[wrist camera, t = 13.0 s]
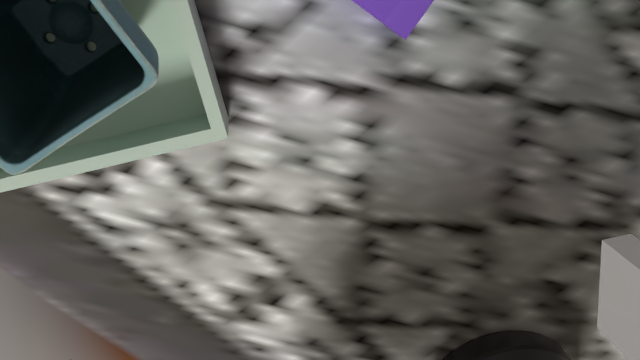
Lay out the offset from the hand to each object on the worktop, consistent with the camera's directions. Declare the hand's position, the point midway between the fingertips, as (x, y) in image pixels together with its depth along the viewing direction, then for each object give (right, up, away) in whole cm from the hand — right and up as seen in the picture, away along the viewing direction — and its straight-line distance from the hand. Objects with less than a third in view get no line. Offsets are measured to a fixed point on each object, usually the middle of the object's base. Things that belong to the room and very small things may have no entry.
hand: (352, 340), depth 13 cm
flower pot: (-15, +13, +18) cm, 27 cm away
